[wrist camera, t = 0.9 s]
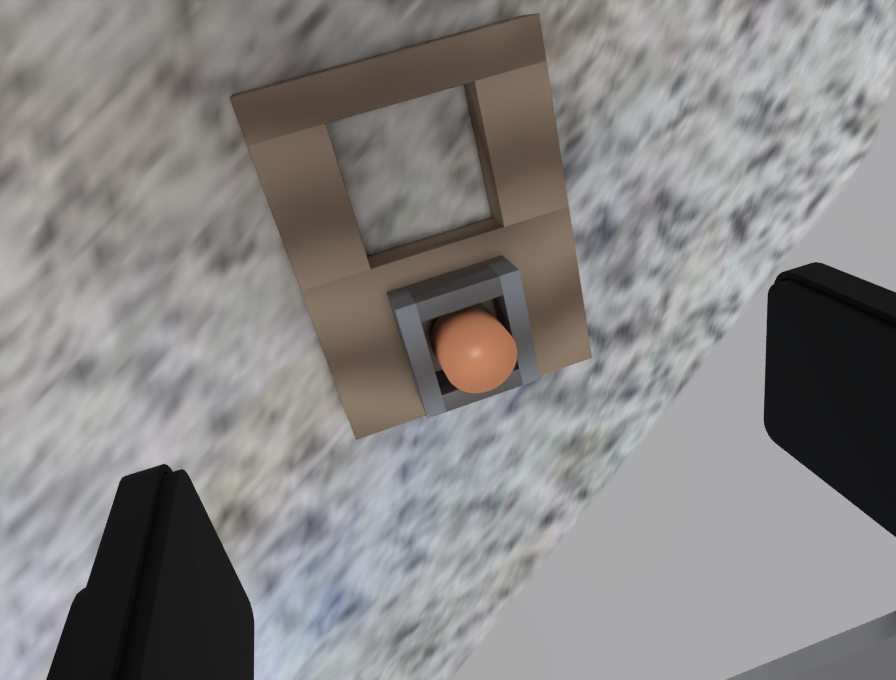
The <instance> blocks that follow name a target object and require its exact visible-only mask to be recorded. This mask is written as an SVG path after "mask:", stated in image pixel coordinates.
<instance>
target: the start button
mask: <svg viewBox="0 0 896 680" xmlns="http://www.w3.org/2000/svg"><path fill="white" fill-rule="evenodd" d="M430 341H431V347H432V350H433V352H434V354H435V356H436V358H437V360H438V361H439V363H440V365H441V367H442V369H443V370H444V372H445V374H446V376H447V378H448V380H449V381H450V382H451V383H452V384H453V385H454V386H455V387H456V388H458V389H460V390H462V391H464V392H468V393H483V392H487V391H490V390H492V389H494V388H496V387H498V386H499V385H501V384H502V383H503V382H504V381H505V380H506V379H507V378H508V377H509V376H510V374H511V373H512V371H513V369H514V367H515V364H516V360H517V347H516V344H515V341H514V339H513V338H512V336H511V335H510V334H509V332H508V331H507V330H506V329H505V328H504V327H503V325H502V324H501V323H500V322H499V321H498V320H497V318H496V317H495V316H494V315H493V314H492V313H491V312H490V311H489V310H488V309H487V308H485V307H484V306H482V305H479V304H475V305H472V306H469V307H466V308H463V309H460V310H457V311H454V312H451V313H448V314H445V315H442V316H439V317H438V319H437V320H436V322H435V324H434V325H433V328H432V331H431V337H430Z"/></svg>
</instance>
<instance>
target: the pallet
mask: <svg viewBox="0 0 896 680" xmlns="http://www.w3.org/2000/svg"><path fill="white" fill-rule="evenodd" d="M463 84H464V87H465V92H466V96H467V101H468V106H469V111H470V115H471V120H472V125H473V130H474V134H475V139H476V144H477V149H478V153H479V158H480V163H481V168H482V172H483V177H484V182H485V187H486V191H487V196H488V201H489V206H490V210H491V215H492V218H490V219H486V220H483V221H480V222H477V223H474V224H470V225H467V226H464V227H461V228H458V229H454V230H451V231H448V232H445V233H442V234H439V235H435V236H432V237H429V238H426V239H423V240H419V241H416V242H413V243H410V244H407V245H403V246H400V247H397V248H394V249H391V250H387V251H384V252H381V253H378V254H375V255H371V256H368V257H367V256H366V253H365V249H364V246H363V243H362V240H361V237H360V233H359V230H358V227H357V224H356V220H355V217H354V214H353V211H352V208H351V204H350V201H349V198H348V195H347V192H346V188H345V185H344V182H343V179H342V175H341V172H340V169H339V166H338V163H337V159H336V156H335V153H334V150H333V146H332V143H331V140H330V137H329V134H328V130H327V127H326V123H329V122H333V121H336V120H340V119H343V118H347V117H350V116H354V115H357V114H361V113H364V112H368V111H371V110H375V109H378V108H382V107H386V106H389V105H393V104H396V103H400V102H403V101H407V100H410V99H414V98H417V97H421V96H424V95H428V94H431V93H435V92H438V91H442V90H445V89H449V88H452V87H456V86H459V85H463ZM230 100H231V103H232V106H233V109H234V111H235V114H236V117H237V119H238V122H239V125H240V127H241V130H242V133H243V136H244V138H245V141H246V144H247V146H248V149H249V152H250V154H251V157H252V160H253V163H254V165H255V168H256V171H257V173H258V176H259V179H260V182H261V184H262V187H263V190H264V192H265V195H266V198H267V200H268V203H269V206H270V209H271V211H272V214H273V217H274V219H275V222H276V225H277V227H278V230H279V233H280V236H281V238H282V241H283V244H284V246H285V249H286V252H287V255H288V257H289V260H290V263H291V265H292V268H293V271H294V273H295V276H296V279H297V282H298V284H299V287H300V290H301V292H302V295H303V298H304V300H305V303H306V306H307V309H308V311H309V314H310V317H311V319H312V322H313V325H314V328H315V330H316V333H317V336H318V338H319V341H320V344H321V346H322V349H323V352H324V355H325V357H326V360H327V363H328V365H329V368H330V371H331V373H332V376H333V379H334V382H335V384H336V387H337V390H338V392H339V395H340V398H341V401H342V403H343V406H344V409H345V411H346V414H347V417H348V419H349V422H350V425H351V428H352V430H353V433H354V436H355V438H356V440H357V439H360V438H363V437H366V436H368V435H371V434H374V433H377V432H380V431H383V430H386V429H389V428H391V427H394V426H397V425H400V424H403V423H406V422H409V421H411V420H414V419H417V418H420V417H423V416H426V415H427V418H430V417H433V416H436V415H439V414H442V413H445V412H447V411H450V410H453V409H456V408H459V407H462V406H465V405H467V404H470V403H473V402H476V401H479V400H482V399H485V398H487V397H490V396H493V395H496V394H499V393H502V392H505V391H508V390H510V389H513V388H516V387H519V386H522V385H525V384H528V383H530V382H533V381H536V380H539V379H541V377H540V376H541V375H544V374H546V373H549V372H552V371H555V370H558V369H561V368H564V367H567V366H569V365H572V364H575V363H578V362H581V361H584V360H587V359H590V358H592V355H591V349H590V342H589V336H588V329H587V323H586V316H585V310H584V303H583V297H582V290H581V284H580V277H579V271H578V264H577V258H576V251H575V245H574V238H573V232H572V225H571V219H570V212H569V206H568V199H567V193H566V186H565V180H564V173H563V167H562V160H561V154H560V147H559V141H558V134H557V128H556V121H555V115H554V108H553V102H552V95H551V89H550V82H549V76H548V69H547V63H546V56H545V50H544V43H543V37H542V30H541V24H540V17H539V13H538V14H530V15H523V16H519V17H515V18H512V19H508V20H504V21H501V22H497V23H494V24H490V25H486V26H483V27H479V28H475V29H472V30H468V31H464V32H461V33H457V34H453V35H450V36H446V37H442V38H439V39H435V40H431V41H428V42H424V43H421V44H417V45H413V46H410V47H406V48H402V49H399V50H395V51H391V52H388V53H384V54H380V55H377V56H373V57H369V58H366V59H362V60H358V61H355V62H351V63H347V64H344V65H340V66H337V67H333V68H329V69H326V70H322V71H318V72H315V73H311V74H307V75H304V76H300V77H296V78H293V79H289V80H285V81H282V82H278V83H274V84H271V85H267V86H264V87H260V88H256V89H253V90H249V91H245V92H242V93H238V94H234V95H232V96H231V97H230ZM475 304H479V305H482V306H484V307H485V308H487V309H488V310H489V311H490V312H491V313H492V314H493V315H494V316H495V317H496V318H497V320H498V321H499V322H500V323H501V324H502V325H503V327H504V328H505V329H506V330H507V331H508V332H509V334H510V335H511V336H512V338H513V339H514V341H515V344H516V347H517V360H516V364H515V367H514V369H513V371H512V373H511V374H510V376H509V377H508V378H507V379H506V380H505V381H504V382H503V383H502V384H501V385H499V386H498V387H496V388H494V389H492V390H490V391H487V392H483V393H468V392H464V391H462V390H460V389H458V388H456V387H455V386H454V385H453V384H452V383H451V382H450V381H449V380H448V378H447V376H446V374H445V372H444V370H443V369H442V367H441V365H440V363H439V361H438V360H437V358H436V356H435V354H434V352H433V350H432V347H431V341H430V337H431V331H432V328H433V325H434V324H435V322H436V320H437V319H438V317H439V316H442V315H445V314H448V313H451V312H454V311H457V310H460V309H463V308H466V307H469V306H472V305H475Z"/></svg>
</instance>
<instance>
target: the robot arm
mask: <svg viewBox="0 0 896 680" xmlns="http://www.w3.org/2000/svg"><path fill="white" fill-rule="evenodd" d="M766 339H767V340H766V368H765V399H764V425H765V428H766V431H767V433H768V435H769V436H770V438H771V439H772V440H773V441H774V442H775V443H776V444H777V445H779V446H780V447H781V448H782V449H784V450H785V451H787V452H788V453H789V454H790V455H791V456H793V457H794V458H795V459H796V460H798V461H799V462H800V463H802V464H803V465H804V466H806V467H807V468H808V469H809V470H811V471H812V472H813V473H814V474H816V475H817V476H819V477H820V478H821V479H822V480H823V481H825V482H826V483H827V484H828V485H830V486H831V487H832V488H834V489H835V490H836V491H837V492H839V493H840V494H841V495H843V496H844V497H845V498H846V499H848V500H849V501H850V502H852V503H853V504H854V505H855V506H857V507H858V508H859V509H860V510H862V511H863V512H864V513H866V514H867V515H868V516H870V517H871V518H872V519H873V520H875V521H876V522H877V523H879V524H880V525H881V526H882V527H884V528H885V529H886V530H887V531H889V532H890V533H891V534H893V535H894V536H895V537H896V292H893V291H891V290H888V289H885V288H883V287H881V286H878V285H875V284H873V283H870V282H868V281H865V280H863V279H860V278H858V277H855V276H853V275H850V274H848V273H845V272H843V271H840V270H838V269H835V268H833V267H830V266H827V265H825V264H823V263H818V262H815V263H810V264H807V265H804V266H801V267H797V268H794V269H791V270H788V271H785V272H782V273H780V274H779V275H778V276H777V278H776V280H775V283H774V284H773V285H772V286H771V287H770V289H769V292H768V305H767V336H766ZM46 680H254V618H253V612H252V608H251V605H250V602H249V599H248V597H247V595H246V593H245V591H244V589H243V587H242V585H241V582H240V580H239V578H238V576H237V574H236V572H235V570H234V568H233V566H232V564H231V562H230V560H229V558H228V556H227V554H226V552H225V549H224V547H223V545H222V543H221V541H220V539H219V537H218V535H217V533H216V531H215V529H214V527H213V525H212V523H211V521H210V519H209V517H208V514H207V512H206V510H205V508H204V506H203V504H202V502H201V500H200V498H199V496H198V494H197V492H196V490H195V488H194V486H193V484H192V481H191V479H190V477H189V476H188V474H187V473H186V471H185V470H183V469H181V470H177V471H174V472H173V471H172V469H171V468H170V467H169V466H168V465H166V464H162V465H159V466H156V467H153V468H149V469H146V470H143V471H140V472H137V473H133V474H130V475H127V476H124V477H122V479H121V481H120V483H119V486H118V489H117V492H116V495H115V498H114V502H113V505H112V508H111V511H110V514H109V517H108V520H107V524H106V527H105V530H104V533H103V536H102V539H101V542H100V546H99V549H98V552H97V555H96V558H95V561H94V564H93V567H92V571H91V574H90V577H89V580H88V583H87V586H86V588H84V589H82V590H81V591H80V592H79V593H77V595H76V597H75V599H74V601H73V603H72V605H71V608H70V611H69V614H68V617H67V620H66V623H65V626H64V629H63V632H62V635H61V638H60V641H59V644H58V647H57V650H56V652H55V655H54V658H53V661H52V664H51V667H50V670H49V673H48V676H47V679H46ZM727 680H896V611H894V612H892V613H889V614H887V615H885V616H882V617H880V618H877V619H875V620H872V621H870V622H867V623H865V624H862V625H860V626H858V627H855V628H852V629H850V630H847V631H845V632H843V633H840V634H838V635H835V636H833V637H830V638H828V639H825V640H823V641H820V642H818V643H815V644H813V645H810V646H808V647H805V648H803V649H801V650H798V651H796V652H793V653H791V654H788V655H786V656H783V657H781V658H778V659H776V660H773V661H771V662H769V663H766V664H764V665H761V666H759V667H756V668H754V669H751V670H749V671H746V672H744V673H741V674H739V675H736V676H734V677H732V678H729V679H727Z"/></svg>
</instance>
